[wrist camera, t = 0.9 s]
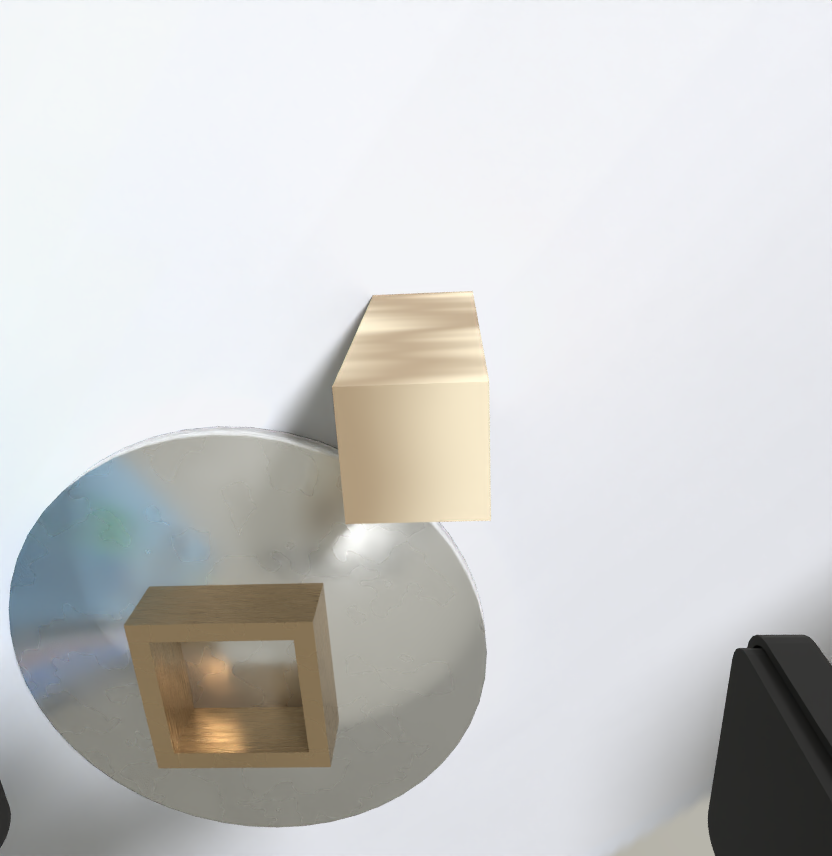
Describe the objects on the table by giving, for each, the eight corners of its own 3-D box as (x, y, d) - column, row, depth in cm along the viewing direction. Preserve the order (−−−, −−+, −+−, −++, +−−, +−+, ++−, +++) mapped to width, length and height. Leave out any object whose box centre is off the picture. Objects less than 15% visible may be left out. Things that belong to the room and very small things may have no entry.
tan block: (472, 290, 25) (489, 381, 16) (474, 386, 27) (490, 520, 17) (372, 295, 25) (331, 387, 16) (379, 389, 27) (345, 524, 17)
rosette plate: (481, 417, 27) (486, 456, 24) (488, 807, 34) (492, 877, 31) (-36, 434, 28) (-98, 474, 25) (80, 809, 35) (43, 877, 32)
